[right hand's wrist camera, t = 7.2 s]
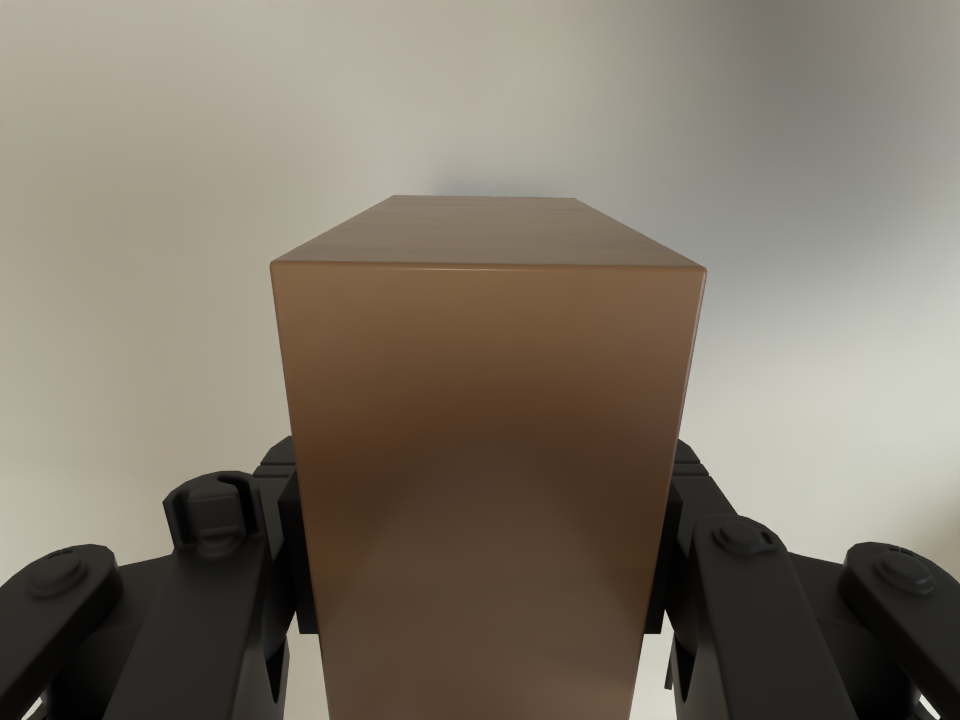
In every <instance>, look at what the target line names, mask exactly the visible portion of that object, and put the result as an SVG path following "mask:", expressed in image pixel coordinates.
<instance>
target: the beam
mask: <svg viewBox="0 0 960 720" xmlns="http://www.w3.org/2000/svg"><path fill="white" fill-rule="evenodd" d="M270 273H271V281H272V288H273V296H274V304H275V311H276V319H277V326H278V334H279V341H280V349H281V356H282V364H283V371H284V379H285V386H286V394H287V402H288V409H289V417H290V424H291V432H292V439H293V447H294V454H295V462H296V469H297V477H298V484H299V492H300V500H301V507H302V515H303V522H304V530H305V537H306V545H307V552H308V560H309V567H310V575H311V582H312V590H313V598H314V605H315V613H316V620H317V628H318V635H319V643H320V650H321V658H322V665H323V673H324V680H325V688H326V696H327V703H328V711H329V718H330V720H629V717H630V711H631V705H632V700H633V694H634V688H635V682H636V677H637V671H638V665H639V659H640V654H641V648H642V642H643V637H644V631H645V625H646V619H647V614H648V608H649V602H650V597H651V591H652V585H653V579H654V574H655V568H656V562H657V557H658V551H659V545H660V539H661V534H662V528H663V522H664V516H665V511H666V505H667V499H668V494H669V488H670V482H671V476H672V471H673V465H674V459H675V454H676V448H677V442H678V436H679V431H680V425H681V419H682V414H683V408H684V402H685V396H686V391H687V385H688V379H689V373H690V368H691V362H692V356H693V351H694V345H695V339H696V333H697V328H698V322H699V316H700V311H701V305H702V299H703V293H704V288H705V282H706V276H707V270H706V268H705V267H703V266H701V265H699V264H697V263H695V262H693V261H692V260H690V259H688V258H686V257H684V256H682V255H680V254H678V253H676V252H675V251H673V250H671V249H669V248H667V247H665V246H663V245H661V244H659V243H658V242H656V241H654V240H652V239H650V238H648V237H646V236H644V235H643V234H641V233H639V232H637V231H635V230H633V229H631V228H629V227H627V226H626V225H624V224H622V223H620V222H618V221H616V220H614V219H612V218H610V217H609V216H607V215H605V214H603V213H601V212H599V211H597V210H595V209H593V208H592V207H590V206H588V205H586V204H584V203H582V202H580V201H578V200H577V199H575V198H539V197H474V196H409V195H394V196H391V197H390V198H388V199H386V200H384V201H382V202H380V203H378V204H377V205H375V206H373V207H371V208H369V209H367V210H366V211H364V212H362V213H360V214H358V215H356V216H354V217H353V218H351V219H349V220H347V221H345V222H343V223H341V224H340V225H338V226H336V227H334V228H332V229H330V230H329V231H327V232H325V233H323V234H321V235H319V236H317V237H316V238H314V239H312V240H310V241H308V242H306V243H305V244H303V245H301V246H299V247H297V248H295V249H293V250H292V251H290V252H288V253H286V254H284V255H282V256H280V257H279V258H277V259H275V260H273V261H271V263H270Z"/></svg>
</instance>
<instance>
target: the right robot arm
mask: <svg viewBox="0 0 960 720" xmlns="http://www.w3.org/2000/svg"><path fill="white" fill-rule="evenodd" d="M162 503H163V506H164V510H165V514H166V518H167V521H168V525H169V529H170V533H171V536H172V540H173V544H174V550H173V552H172V554H170V555H167V556H163V557H160V558H156V559H151V560H147V561H142V562H137V563H133V564H128V565H124V566H119V567H118V565H117V562H116V559H115V556H114V553H113V552H112V551H111V550H109V549H108V548H107V547H106V546H101V545H95V544H86V545H78V546H71V547H68V548H64V549H62V550H58V551H55V552H52V553H50V554H48V555H46V556H44V557H42V558H40V559H38V560H36V561H34V562H32V563H30V564H29V565H27V566H26V567H24V568H23V569H22V570H20V571H19V572H18V573H16V574H15V575H14V576H12V577H11V578H10V579H9V580H8V581H7V582H6V583H5V584H4V585H2V586H1V587H0V720H21V719H22V718H23V716H24V715H25V714H26V713H27V711H28V710H29V709H30V708H31V706H32V705H33V704H34V703H35V701H36V700H37V699H38V698H39V696H40V698H41V700H42V703H41V705H40V706H39V707H38V708H37V710H36V711H35V712H34V713H33V714H32V715H31V716H30V717H29V718H28V719H27V720H283V715H284V706H285V696H286V686H287V677H288V667H289V658H290V654H289V648H288V641H287V636H286V634H287V631H288V629H289V626H290V623H291V621H292V618H293V616H294V613H295V611H296V615H297V621H298V626H299V632H300V634H318V628H317V620H316V613H315V605H314V598H313V590H312V582H311V575H310V567H309V560H308V552H307V545H306V537H305V530H304V522H303V515H302V507H301V500H300V492H299V484H298V477H297V469H296V462H295V454H294V447H293V439H292V436H288V437H286V438H285V439H283V440H282V441H280V442H279V443H278V444H276V445H275V446H273V447H272V448H270V450H269V451H268V453H267V454H266V456H265V457H264V458H263V460H262V461H261V463H260V466H258V467H257V469H256V470H255V471H254V473H253V474H252V475H251V474H248V473H244V472H240V471H219V472H214V473H210V474H205V475H202V476H199V477H197V478H194V479H192V480H189V481H187V482H185V483H183V484H182V485H180V486H179V487H177V488H176V489H174V490H173V491H171V492H170V494H169V495H168V496H167V497H166V498H165V500H164V501H163V502H162ZM665 610H666V612H667V615H668V617H669V620H670V622H671V625H672V627H673V630H674V636H673V641H672V647H671V652H670V658H669V663H668V669H667V674H666V680H665V687H664V688H665V689H669V690H671V689H672V684H673V685H674V695H675V704H676V714H677V720H936V719H935V718H934V717H933V716H932V715H931V714H930V713H929V712H928V711H927V710H926V708H925V707H924V706H923V705H922V703H921V702H920V701H919V699H920V697H921V695H922V694H923V696H924V697H925V698H926V699H927V701H928V702H929V703H930V704H931V706H932V707H933V708H934V709H935V710H936V712H937V713H938V714H939V715H940V719H939V720H960V583H958V582H957V581H956V580H955V579H954V578H953V577H952V576H951V575H950V574H948V573H947V572H946V571H944V570H943V569H942V568H940V567H939V566H937V565H936V564H935V563H933V562H932V561H930V560H928V559H926V558H924V557H922V556H920V555H918V554H916V553H914V552H912V551H910V550H907V549H905V548H902V547H901V548H900V547H899V546H894V545H891V544H885V543H877V542H865V543H859V544H855V545H854V546H853V547H851V548H850V549H849V550H848V551H847V554H846V557H845V560H844V563H843V564H838V563H834V562H829V561H824V560H820V559H815V558H810V557H806V556H801V555H798V554H794V553H791V552H788V551H787V549H786V547H785V545H784V544H783V542H782V541H781V540H780V538H779V537H778V535H776V534H775V533H774V532H772V531H771V530H770V529H768V528H767V527H766V526H765V525H763V524H761V523H758V522H756V521H754V520H752V519H750V518H748V517H744V516H740V515H738V514H737V513H736V511H735V510H734V508H733V507H732V506H731V504H730V503H729V501H728V500H727V498H726V497H725V496H724V494H723V493H722V491H721V490H720V488H719V487H718V486H717V484H716V483H715V481H714V480H713V478H712V477H711V476H709V473H708V471H707V470H706V469H705V467H704V466H703V464H700V460H699V459H698V457H697V456H696V454H695V453H694V451H693V450H692V449H691V447H690V446H689V445H687V444H686V443H684V442H683V441H681V440H680V439H678V442H677V448H676V454H675V459H674V465H673V471H672V476H671V482H670V488H669V494H668V499H667V505H666V511H665V516H664V522H663V528H662V534H661V539H660V545H659V551H658V557H657V562H656V568H655V574H654V579H653V585H652V591H651V597H650V602H649V608H648V614H647V619H646V625H645V631H644V634H661V629H662V623H663V617H664V611H665Z"/></svg>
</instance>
